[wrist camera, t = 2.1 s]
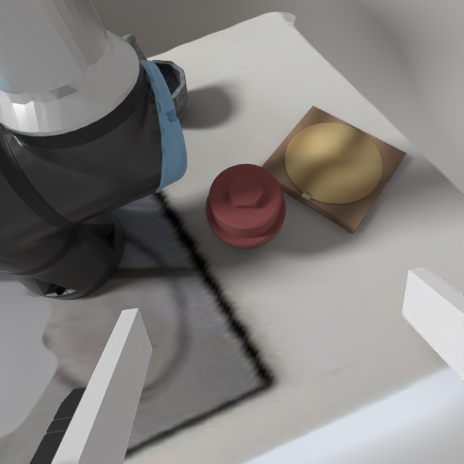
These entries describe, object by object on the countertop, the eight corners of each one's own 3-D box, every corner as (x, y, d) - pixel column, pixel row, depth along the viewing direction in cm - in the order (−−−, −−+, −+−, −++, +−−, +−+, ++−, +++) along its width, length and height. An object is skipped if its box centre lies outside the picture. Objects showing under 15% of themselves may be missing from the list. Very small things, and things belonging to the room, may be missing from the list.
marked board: (258, 175, 45) (258, 169, 43) (310, 112, 49) (313, 104, 47) (351, 233, 41) (356, 229, 39) (401, 158, 45) (407, 152, 43)
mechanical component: (291, 242, 41) (232, 274, 39) (257, 190, 44) (202, 218, 43) (309, 205, 29) (226, 248, 28) (261, 139, 32) (185, 175, 31)
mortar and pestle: (203, 113, 50) (191, 49, 39) (164, 143, 48) (139, 85, 37) (164, 82, 53) (143, 15, 42) (126, 110, 51) (93, 47, 40)
